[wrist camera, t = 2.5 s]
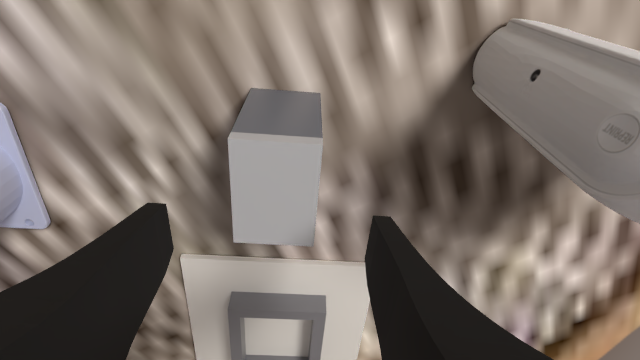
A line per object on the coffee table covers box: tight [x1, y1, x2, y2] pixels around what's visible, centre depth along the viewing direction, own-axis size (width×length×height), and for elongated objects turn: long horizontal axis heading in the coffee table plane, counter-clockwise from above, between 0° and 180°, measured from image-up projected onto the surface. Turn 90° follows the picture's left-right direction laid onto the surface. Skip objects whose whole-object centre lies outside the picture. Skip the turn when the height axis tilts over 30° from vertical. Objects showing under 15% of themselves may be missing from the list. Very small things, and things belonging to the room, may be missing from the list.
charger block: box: [228, 88, 323, 246], centre depth 17 cm, size 4×5×6 cm
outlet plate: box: [180, 254, 370, 360], centre depth 27 cm, size 13×14×2 cm
